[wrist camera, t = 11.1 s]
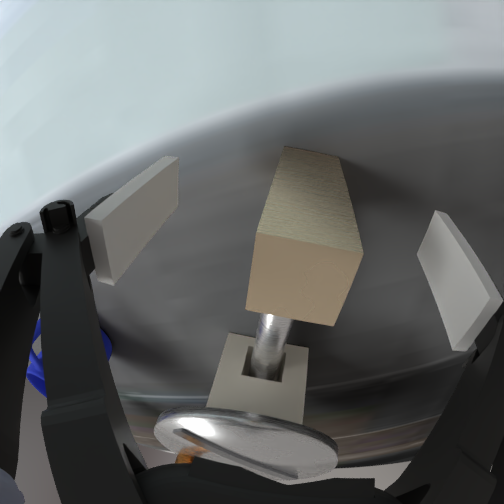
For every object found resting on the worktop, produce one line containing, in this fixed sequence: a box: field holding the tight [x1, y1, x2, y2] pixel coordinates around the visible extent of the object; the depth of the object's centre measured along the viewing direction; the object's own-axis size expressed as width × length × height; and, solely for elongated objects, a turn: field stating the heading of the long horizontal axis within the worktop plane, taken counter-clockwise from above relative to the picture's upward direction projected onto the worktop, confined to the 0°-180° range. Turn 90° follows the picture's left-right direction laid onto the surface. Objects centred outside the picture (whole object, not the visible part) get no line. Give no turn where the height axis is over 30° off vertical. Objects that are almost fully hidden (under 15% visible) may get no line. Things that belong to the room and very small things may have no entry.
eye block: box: [206, 332, 309, 425], centre depth 25 cm, size 7×7×9 cm
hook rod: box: [245, 146, 364, 381], centre depth 20 cm, size 25×3×10 cm, turn 173°
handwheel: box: [154, 407, 338, 480], centre depth 18 cm, size 15×15×8 cm
